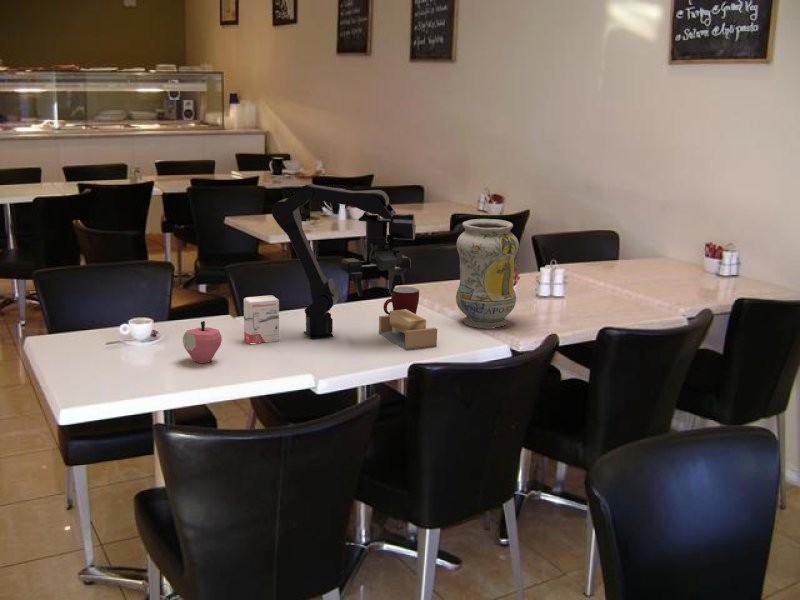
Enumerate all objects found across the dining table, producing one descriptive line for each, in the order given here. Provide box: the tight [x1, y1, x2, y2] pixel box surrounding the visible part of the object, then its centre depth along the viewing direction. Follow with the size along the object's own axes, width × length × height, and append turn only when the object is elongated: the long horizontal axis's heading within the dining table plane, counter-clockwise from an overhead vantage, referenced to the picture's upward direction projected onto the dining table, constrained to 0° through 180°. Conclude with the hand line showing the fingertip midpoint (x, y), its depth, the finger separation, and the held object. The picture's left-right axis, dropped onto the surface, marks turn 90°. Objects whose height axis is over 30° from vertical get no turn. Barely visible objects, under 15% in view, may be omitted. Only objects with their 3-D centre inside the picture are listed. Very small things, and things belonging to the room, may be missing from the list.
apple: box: [182, 320, 223, 363], centre depth 223 cm, size 10×9×10 cm
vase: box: [455, 218, 520, 330], centre depth 262 cm, size 18×18×30 cm
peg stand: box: [378, 314, 438, 351], centre depth 246 cm, size 9×17×5 cm, turn 26°
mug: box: [383, 286, 420, 315], centre depth 262 cm, size 11×8×10 cm
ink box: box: [243, 294, 280, 344], centre depth 242 cm, size 9×5×12 cm, turn 118°
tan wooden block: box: [389, 309, 427, 333], centre depth 246 cm, size 5×12×4 cm, turn 26°
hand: (375, 294), depth 244 cm, fingers open, 9 cm apart
